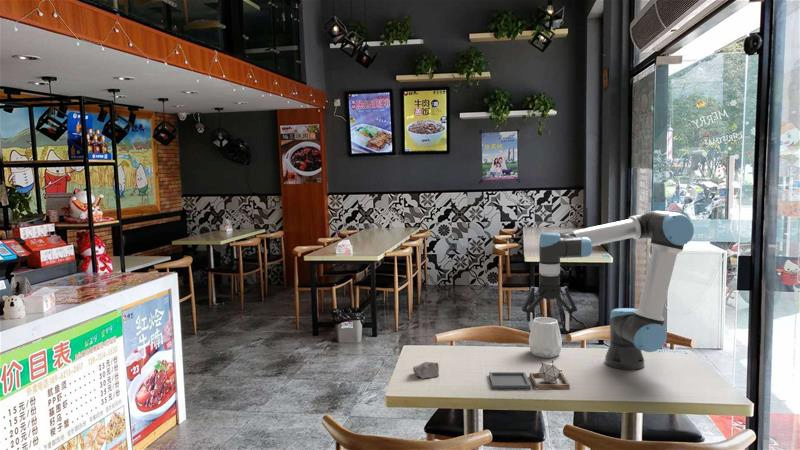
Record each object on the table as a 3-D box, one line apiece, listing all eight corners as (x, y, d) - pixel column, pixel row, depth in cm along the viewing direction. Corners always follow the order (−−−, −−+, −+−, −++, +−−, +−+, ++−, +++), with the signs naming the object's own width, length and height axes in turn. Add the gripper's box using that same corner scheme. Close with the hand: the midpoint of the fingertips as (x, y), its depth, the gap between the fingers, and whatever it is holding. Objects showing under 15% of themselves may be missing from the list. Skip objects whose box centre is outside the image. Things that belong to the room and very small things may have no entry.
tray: (524, 375, 237) (524, 372, 237) (531, 389, 223) (531, 385, 223) (489, 375, 238) (489, 372, 238) (492, 389, 224) (492, 385, 224)
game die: (553, 393, 229) (562, 378, 222) (532, 384, 230) (540, 369, 223) (557, 375, 235) (566, 360, 229) (536, 366, 237) (544, 351, 230)
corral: (562, 376, 236) (562, 372, 236) (569, 388, 223) (569, 384, 223) (529, 376, 236) (529, 372, 236) (535, 388, 224) (535, 384, 224)
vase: (529, 358, 258) (529, 323, 256) (527, 348, 271) (528, 315, 270) (563, 359, 255) (563, 324, 254) (560, 349, 269) (560, 316, 267)
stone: (436, 371, 244) (436, 357, 243) (440, 378, 236) (440, 364, 235) (412, 373, 243) (412, 359, 242) (415, 380, 235) (415, 366, 234)
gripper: (580, 272, 229) (580, 326, 231) (514, 272, 230) (514, 327, 232) (585, 275, 221) (585, 332, 223) (517, 276, 222) (517, 332, 225)
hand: (549, 329), depth 228 cm, fingers open, 13 cm apart
